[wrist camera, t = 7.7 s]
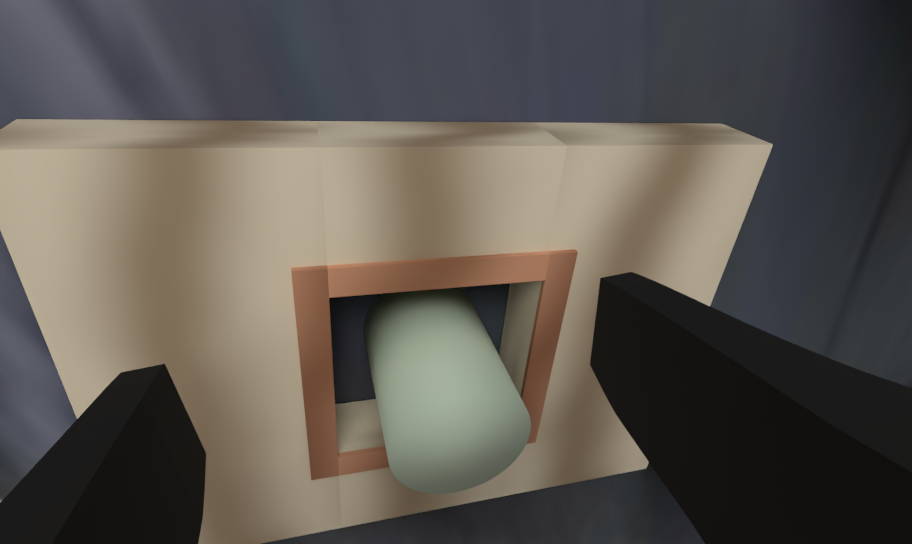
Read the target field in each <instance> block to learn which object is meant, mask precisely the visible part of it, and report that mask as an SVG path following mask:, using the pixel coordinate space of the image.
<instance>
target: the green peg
mask: <svg viewBox="0 0 912 544" xmlns="http://www.w3.org/2000/svg"><path fill="white" fill-rule="evenodd" d="M364 339H365V344H366V349H367V354H368V360H369V365H370V370H371V375H372V380H373V385H374V390H375V396H376V401H377V406H378V411H379V416H380V421H381V426H382V432H383V437H384V442H385V447H386V452H387V457H388V462H389V466H390V469H391V472H392V473H393V475H394V476H395V478H396V479H397V480H398V481H399V482H401V483H402V484H403V485H405V486H406V487H408V488H410V489H413V490H415V491H419V492H423V493H430V494H446V493H454V492H459V491H463V490H467V489H470V488H473V487H476V486H478V485H481V484H483V483H485V482H487V481H489V480H491V479H492V478H494V477H496V476H497V475H499V474H500V473H501V472H503V471H504V470H505V469H507V468H508V467H509V466H510V465H511V464H512V463H513V462H514V461H515V460H516V459H517V458H518V456H519V455H520V454H521V452H522V451H523V449H524V448H525V446H526V444H527V441H528V439H529V436H530V432H531V419H530V416H529V413H528V411H527V409H526V407H525V405H524V403H523V401H522V399H521V397H520V395H519V393H518V391H517V389H516V387H515V385H514V384H513V382H512V380H511V378H510V376H509V374H508V372H507V370H506V368H505V366H504V364H503V362H502V360H501V358H500V356H499V355H498V353H497V351H496V349H495V347H494V345H493V343H492V341H491V339H490V337H489V335H488V333H487V331H486V329H485V327H484V326H483V324H482V322H481V320H480V318H479V316H478V314H477V312H476V310H475V308H474V306H473V304H472V302H471V300H470V299H469V297H468V295H467V294H466V293H465V292H464V291H463V290H462V289H461V288H460V287H456V288H444V289H432V290H419V291H407V292H394V293H383V294H381V295H380V296H379V297H378V298H377V299H376V301H375V302H374V303H373V304H372V306H371V307H370V309H369V311H368V313H367V315H366V318H365V322H364Z"/></svg>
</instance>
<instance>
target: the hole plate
mask: <svg viewBox="0 0 912 544" xmlns="http://www.w3.org/2000/svg"><path fill="white" fill-rule="evenodd" d="M772 146H773V144H771V143H768V142H766V141H763V140H761V139H758V138H756V137H753V136H751V135H748V134H746V133H744V132H741V131H739V130H736V129H734V128H731V127H729V126H726V125H724V124H694V123H534V122H373V121H213V120H52V119H16V120H15V121H13V122H12V123H10V124H8V125H7V126H5V127H4V128H2V129H0V230H1V233H2V235H3V238H4V240H5V242H6V245H7V247H8V250H9V252H10V255H11V257H12V260H13V262H14V265H15V267H16V270H17V272H18V275H19V277H20V279H21V282H22V284H23V287H24V289H25V292H26V294H27V297H28V299H29V302H30V304H31V307H32V309H33V311H34V314H35V316H36V319H37V321H38V324H39V326H40V329H41V331H42V334H43V336H44V339H45V341H46V344H47V346H48V348H49V351H50V353H51V356H52V358H53V361H54V363H55V366H56V368H57V371H58V373H59V376H60V378H61V381H62V383H63V385H64V388H65V390H66V393H67V395H68V398H69V400H70V403H71V405H72V408H73V410H74V413H75V415H76V418H77V419H78V418H79V417H80V416H81V415H82V413H83V412H84V411H85V410H86V409H87V408H88V407H89V406H90V405H91V404H92V402H93V401H94V400H95V399H96V398H97V397H98V396H99V395H100V394H101V393H102V392H103V390H104V389H105V388H106V387H107V386H108V385H109V384H110V383H111V382H112V381H113V380H114V379H115V378H116V377H117V376H118V375H119V374H120V373H121V372H125V371H131V370H136V369H141V368H146V367H151V366H156V365H161V364H165V365H166V367H167V370H168V372H169V374H170V376H171V378H172V380H173V383H174V385H175V387H176V389H177V391H178V393H179V396H180V398H181V400H182V402H183V404H184V406H185V408H186V411H187V413H188V415H189V417H190V419H191V421H192V424H193V426H194V428H195V430H196V432H197V434H198V437H199V439H200V441H201V443H202V445H203V447H204V450H205V452H206V471H205V493H204V508H203V519H202V525H201V531H200V537H199V542H198V544H261V543H266V542H271V541H276V540H281V539H287V538H292V537H297V536H302V535H307V534H312V533H317V532H322V531H328V530H333V529H338V528H343V527H348V526H353V525H358V524H364V523H369V522H374V521H379V520H384V519H389V518H394V517H400V516H405V515H410V514H415V513H420V512H425V511H430V510H435V509H441V508H446V507H451V506H456V505H461V504H466V503H471V502H477V501H482V500H487V499H492V498H497V497H502V496H507V495H512V494H518V493H523V492H528V491H533V490H538V489H543V488H548V487H554V486H559V485H564V484H569V483H574V482H579V481H584V480H589V479H595V478H600V477H605V476H610V475H615V474H620V473H625V472H631V471H636V470H641V469H646V468H647V466H648V463H649V461H648V460H647V459H646V457H645V456H644V454H643V453H642V451H641V450H640V449H639V447H638V446H637V444H636V443H635V441H634V440H633V438H632V437H631V436H630V434H629V433H628V431H627V430H626V428H625V427H624V425H623V424H622V423H621V421H620V420H619V418H618V417H617V415H616V414H615V412H614V410H613V408H612V407H611V405H610V403H609V401H608V399H607V397H606V396H605V394H604V392H603V390H602V388H601V386H600V384H599V382H598V380H597V378H596V376H595V374H594V372H593V370H592V368H591V366H590V359H591V351H592V343H593V335H594V326H595V318H596V310H597V302H598V294H599V286H600V278H603V277H608V276H613V275H618V274H623V273H628V272H633V273H636V274H639V275H641V276H644V277H646V278H649V279H651V280H653V281H656V282H658V283H660V284H662V285H665V286H667V287H669V288H671V289H673V290H676V291H678V292H680V293H682V294H684V295H686V296H689V297H691V298H693V299H695V300H697V301H699V302H701V303H703V304H706V305H708V306H710V305H711V302H712V300H713V297H714V294H715V292H716V289H717V287H718V284H719V282H720V279H721V277H722V274H723V271H724V269H725V266H726V264H727V261H728V259H729V256H730V254H731V251H732V248H733V246H734V243H735V241H736V238H737V236H738V233H739V231H740V228H741V225H742V223H743V220H744V218H745V215H746V213H747V210H748V207H749V205H750V202H751V200H752V197H753V195H754V192H755V190H756V187H757V184H758V182H759V179H760V177H761V174H762V172H763V169H764V167H765V164H766V161H767V159H768V156H769V154H770V151H771V149H772ZM506 283H510V286H509V293H508V299H507V306H506V312H505V319H504V326H503V332H502V339H501V345H500V352H499V356H500V358H501V360H502V362H503V364H504V366H505V368H506V370H507V372H508V374H509V376H510V378H511V380H512V382H513V384H514V385H515V387H516V389H517V391H518V393H519V395H520V397H521V399H522V401H523V403H524V405H525V407H526V409H527V411H528V413H529V416H530V419H531V432H530V436H529V439H528V441H527V444H526V446H525V448H524V449H523V451H522V452H521V454H520V455H519V456H518V458H517V459H516V460H515V461H514V462H513V463H512V464H511V465H510V466H509V467H508V468H507V469H505V470H504V471H503V472H501V473H500V474H499V475H497V476H496V477H494V478H492V479H491V480H489V481H487V482H485V483H483V484H481V485H478V486H476V487H473V488H470V489H467V490H463V491H459V492H454V493H446V494H430V493H423V492H419V491H415V490H413V489H410V488H408V487H406V486H405V485H403V484H402V483H401V482H399V481H398V480H397V479H396V478H395V476H394V475H393V473H392V472H391V469H390V466H389V462H388V457H387V452H386V447H385V442H384V437H383V432H382V426H381V421H380V416H379V411H378V406H377V401H376V399H371V400H364V401H356V402H349V403H341V404H335V395H334V377H333V359H332V341H331V323H330V305H329V298H332V297H345V296H357V295H370V294H382V293H394V292H407V291H419V290H432V289H444V288H456V287H469V286H481V285H494V284H506Z"/></svg>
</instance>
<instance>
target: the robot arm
mask: <svg viewBox="0 0 912 544" xmlns="http://www.w3.org/2000/svg"><path fill="white" fill-rule="evenodd" d="M590 366H591V368H592V370H593V372H594V374H595V376H596V378H597V380H598V382H599V384H600V386H601V388H602V390H603V392H604V394H605V396H606V397H607V399H608V401H609V403H610V405H611V407H612V408H613V410H614V412H615V414H616V415H617V417H618V418H619V420H620V421H621V423H622V424H623V425H624V427H625V428H626V430H627V431H628V433H629V434H630V436H631V437H632V438H633V440H634V441H635V443H636V444H637V446H638V447H639V449H640V450H641V451H642V453H643V454H644V456H645V457H646V459H647V460H648V461H649V463H650V464H651V466H652V467H653V468H654V470H655V471H656V473H657V474H658V476H659V477H660V478H661V480H662V481H663V483H664V484H665V485H666V487H667V488H668V490H669V491H670V493H671V494H672V495H673V497H674V498H675V500H676V501H677V502H678V504H679V505H680V507H681V508H682V510H683V511H684V512H685V514H686V515H687V517H688V518H689V519H690V521H691V522H692V524H693V525H694V527H695V529H696V530H697V532H698V533H699V535H700V536H701V538H702V539H703V541H704V542H705V544H912V388H909V387H906V386H903V385H901V384H898V383H895V382H892V381H889V380H886V379H883V378H880V377H877V376H875V375H872V374H869V373H866V372H863V371H861V370H858V369H855V368H853V367H850V366H847V365H845V364H842V363H839V362H837V361H834V360H832V359H829V358H827V357H824V356H822V355H820V354H817V353H815V352H812V351H810V350H807V349H805V348H802V347H800V346H797V345H795V344H793V343H790V342H788V341H785V340H783V339H781V338H779V337H776V336H774V335H772V334H769V333H767V332H765V331H762V330H760V329H758V328H756V327H753V326H751V325H749V324H747V323H745V322H742V321H740V320H738V319H736V318H734V317H731V316H729V315H727V314H725V313H723V312H721V311H719V310H716V309H714V308H712V307H710V306H708V305H706V304H703V303H701V302H699V301H697V300H695V299H693V298H691V297H689V296H686V295H684V294H682V293H680V292H678V291H676V290H673V289H671V288H669V287H667V286H665V285H662V284H660V283H658V282H656V281H653V280H651V279H649V278H646V277H644V276H641V275H639V274H636V273H633V272H628V273H623V274H618V275H613V276H608V277H603V278H600V286H599V294H598V302H597V310H596V318H595V326H594V335H593V343H592V351H591V359H590ZM205 471H206V452H205V450H204V447H203V445H202V443H201V441H200V439H199V437H198V434H197V432H196V430H195V428H194V426H193V424H192V421H191V419H190V417H189V415H188V413H187V411H186V408H185V406H184V404H183V402H182V400H181V398H180V396H179V393H178V391H177V389H176V387H175V385H174V383H173V380H172V378H171V376H170V374H169V372H168V370H167V367H166V365H165V364H161V365H156V366H151V367H146V368H141V369H136V370H131V371H125V372H121V373H120V374H119V375H118V376H117V377H116V378H115V379H114V380H113V381H112V382H111V383H110V384H109V385H108V386H107V387H106V388H105V389H104V390H103V392H102V393H101V394H100V395H99V396H98V397H97V398H96V399H95V400H94V401H93V402H92V404H91V405H90V406H89V407H88V408H87V409H86V410H85V411H84V412H83V413H82V415H81V416H80V417H79V418H78V419H77V420H76V421H75V422H74V423H73V425H72V426H71V427H70V428H69V429H68V430H67V431H66V432H65V433H64V435H63V436H62V437H61V438H60V439H59V440H58V441H57V442H56V443H55V444H54V446H53V447H52V448H51V449H50V450H49V451H48V452H47V453H46V454H45V455H44V456H43V457H42V459H41V460H40V461H39V462H38V463H37V464H36V465H35V466H34V467H33V468H32V469H31V470H30V472H29V473H28V474H27V475H26V476H25V477H24V478H23V479H22V480H21V481H20V482H19V483H18V485H17V486H16V487H15V488H14V489H13V490H12V491H11V492H10V493H9V494H8V495H7V496H6V497H5V498H4V500H3V501H2V502H1V503H0V544H198V542H199V537H200V531H201V525H202V519H203V508H204V493H205Z"/></svg>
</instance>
